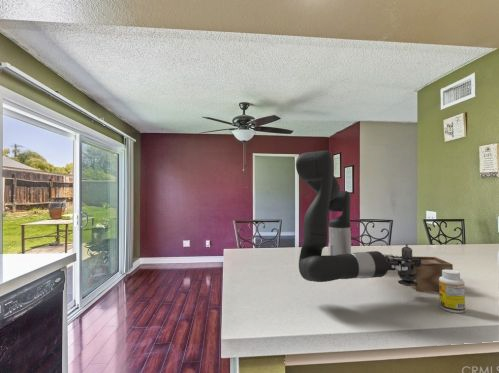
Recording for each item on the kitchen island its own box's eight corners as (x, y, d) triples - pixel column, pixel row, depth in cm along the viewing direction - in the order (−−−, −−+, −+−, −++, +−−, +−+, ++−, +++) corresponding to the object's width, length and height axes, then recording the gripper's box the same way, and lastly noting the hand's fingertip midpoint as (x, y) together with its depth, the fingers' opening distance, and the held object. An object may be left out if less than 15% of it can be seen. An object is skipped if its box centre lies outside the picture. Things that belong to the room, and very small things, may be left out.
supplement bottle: (441, 303, 78) (439, 267, 79) (466, 308, 75) (464, 270, 75) (438, 310, 74) (437, 271, 75) (465, 315, 71) (463, 275, 71)
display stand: (416, 291, 89) (415, 263, 90) (402, 280, 100) (401, 256, 100) (453, 292, 88) (452, 264, 88) (435, 281, 98) (434, 256, 99)
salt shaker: (422, 286, 82) (421, 246, 82) (400, 285, 83) (399, 245, 83) (414, 280, 87) (413, 242, 88) (394, 279, 88) (393, 242, 89)
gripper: (381, 257, 75) (434, 253, 79) (351, 247, 89) (397, 244, 93) (382, 285, 75) (435, 280, 79) (352, 271, 89) (398, 267, 93)
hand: (414, 261), depth 86 cm, fingers closed on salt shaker, 3 cm apart
